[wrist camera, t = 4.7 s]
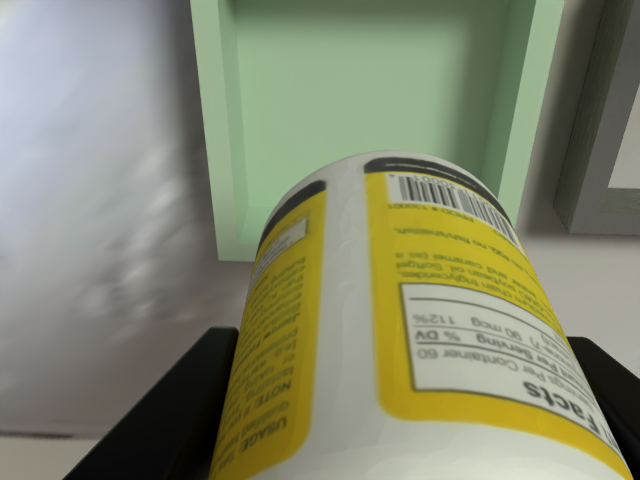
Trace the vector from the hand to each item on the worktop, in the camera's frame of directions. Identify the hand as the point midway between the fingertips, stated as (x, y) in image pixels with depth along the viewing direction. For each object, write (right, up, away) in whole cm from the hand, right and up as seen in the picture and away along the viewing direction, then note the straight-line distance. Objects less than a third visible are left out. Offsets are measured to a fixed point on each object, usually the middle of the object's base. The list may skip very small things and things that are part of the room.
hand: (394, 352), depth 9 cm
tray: (0, +7, +10) cm, 12 cm away
